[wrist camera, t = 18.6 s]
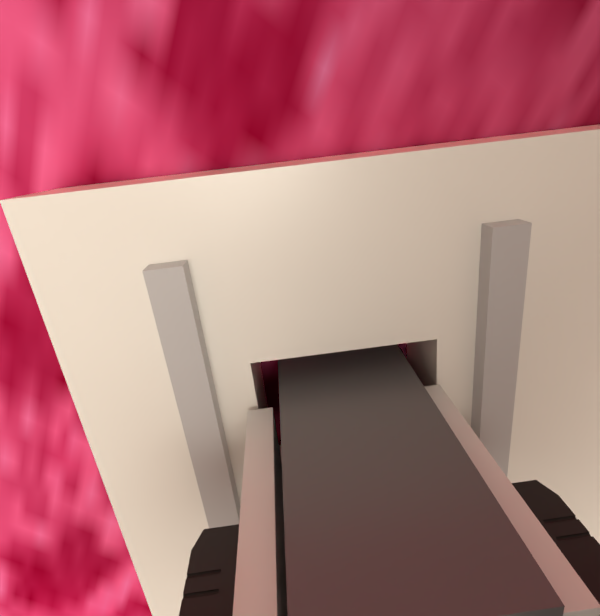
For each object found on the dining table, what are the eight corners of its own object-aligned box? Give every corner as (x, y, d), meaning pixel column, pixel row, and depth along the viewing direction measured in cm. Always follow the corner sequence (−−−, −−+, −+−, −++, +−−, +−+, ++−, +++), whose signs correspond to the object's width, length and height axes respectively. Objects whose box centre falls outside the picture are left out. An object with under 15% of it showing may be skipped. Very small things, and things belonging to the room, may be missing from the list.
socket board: (58, 188, 13) (-17, 203, 9) (750, 106, 13) (912, 93, 10) (191, 613, 20) (176, 706, 17) (633, 549, 21) (703, 628, 17)
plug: (276, 339, 15) (293, 763, 5) (385, 325, 15) (632, 711, 5) (289, 428, 17) (323, 901, 6) (388, 415, 17) (583, 859, 6)
